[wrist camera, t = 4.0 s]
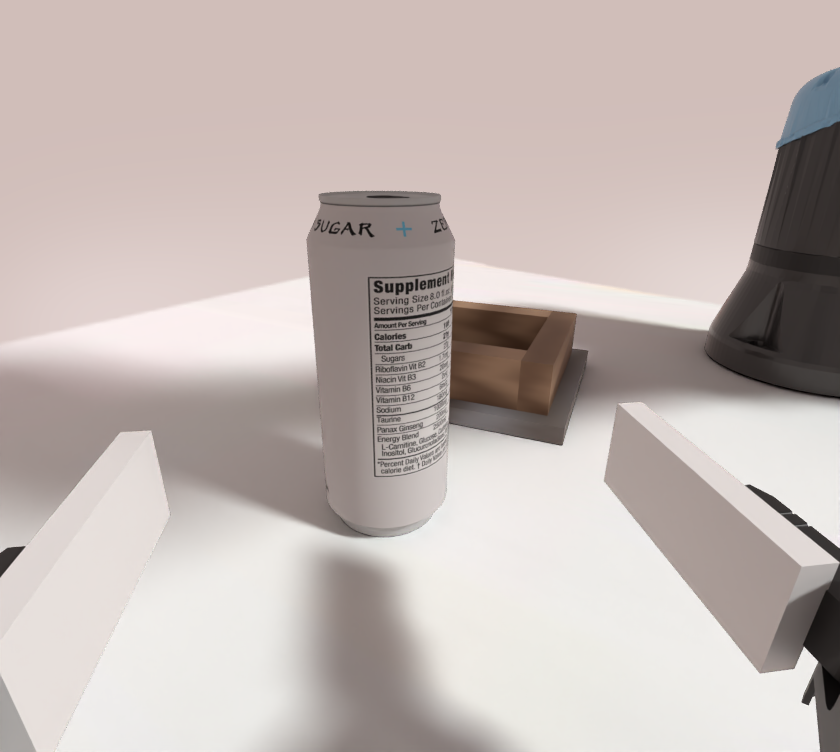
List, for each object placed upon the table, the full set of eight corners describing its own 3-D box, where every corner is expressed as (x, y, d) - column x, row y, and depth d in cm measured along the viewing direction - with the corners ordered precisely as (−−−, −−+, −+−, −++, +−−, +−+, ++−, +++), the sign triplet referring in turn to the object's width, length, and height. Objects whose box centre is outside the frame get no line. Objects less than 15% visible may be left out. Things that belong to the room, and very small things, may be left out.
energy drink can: (396, 459, 30) (393, 188, 24) (470, 508, 26) (488, 195, 20) (305, 500, 26) (275, 193, 20) (374, 565, 22) (361, 202, 16)
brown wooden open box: (586, 363, 44) (593, 311, 42) (562, 445, 31) (571, 375, 30) (426, 341, 49) (427, 293, 48) (350, 403, 37) (347, 342, 35)
